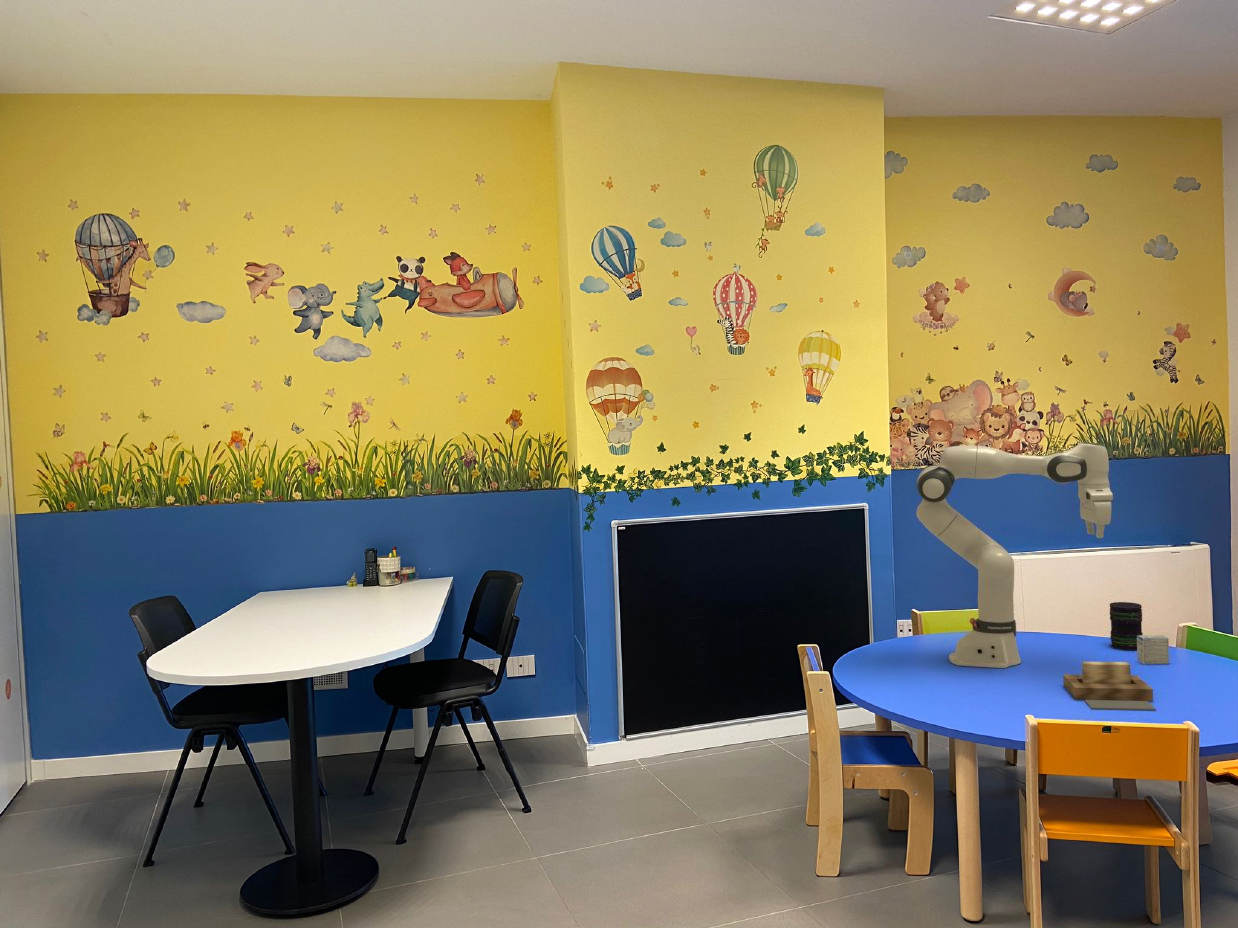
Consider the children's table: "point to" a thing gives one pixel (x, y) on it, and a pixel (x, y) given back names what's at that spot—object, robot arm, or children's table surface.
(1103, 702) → the grey flat slab
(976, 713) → the children's table surface
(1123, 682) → the oak cover plate
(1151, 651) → the medicine box
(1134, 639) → the black cylinder
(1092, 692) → the walnut case
